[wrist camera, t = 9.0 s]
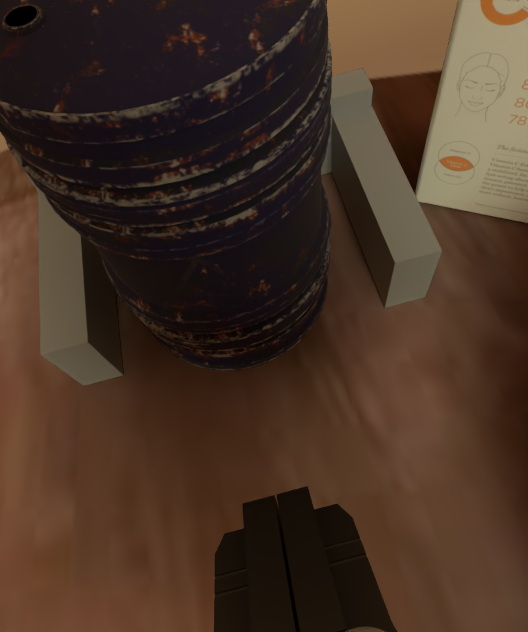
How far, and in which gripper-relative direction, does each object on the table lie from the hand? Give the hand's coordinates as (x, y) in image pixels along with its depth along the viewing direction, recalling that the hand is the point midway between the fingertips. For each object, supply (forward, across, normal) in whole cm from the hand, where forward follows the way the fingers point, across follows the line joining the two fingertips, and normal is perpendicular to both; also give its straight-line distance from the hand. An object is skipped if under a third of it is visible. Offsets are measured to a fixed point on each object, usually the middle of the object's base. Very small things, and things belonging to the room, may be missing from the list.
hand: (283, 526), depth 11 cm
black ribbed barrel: (+16, 0, -2) cm, 16 cm away
